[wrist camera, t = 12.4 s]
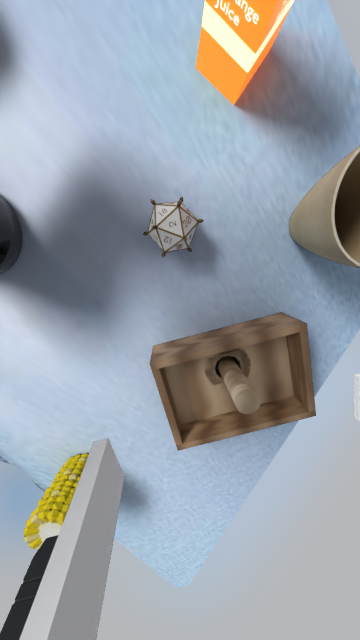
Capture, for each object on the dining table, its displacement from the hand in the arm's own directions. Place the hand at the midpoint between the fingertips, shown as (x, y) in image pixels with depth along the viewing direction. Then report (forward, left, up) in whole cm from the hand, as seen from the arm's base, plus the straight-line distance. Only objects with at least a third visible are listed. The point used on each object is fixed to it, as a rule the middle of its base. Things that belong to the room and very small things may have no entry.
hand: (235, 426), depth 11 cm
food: (-32, -30, -32) cm, 54 cm away
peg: (+5, -13, -31) cm, 34 cm away
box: (+5, -15, -31) cm, 35 cm away
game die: (+1, +14, -32) cm, 35 cm away
